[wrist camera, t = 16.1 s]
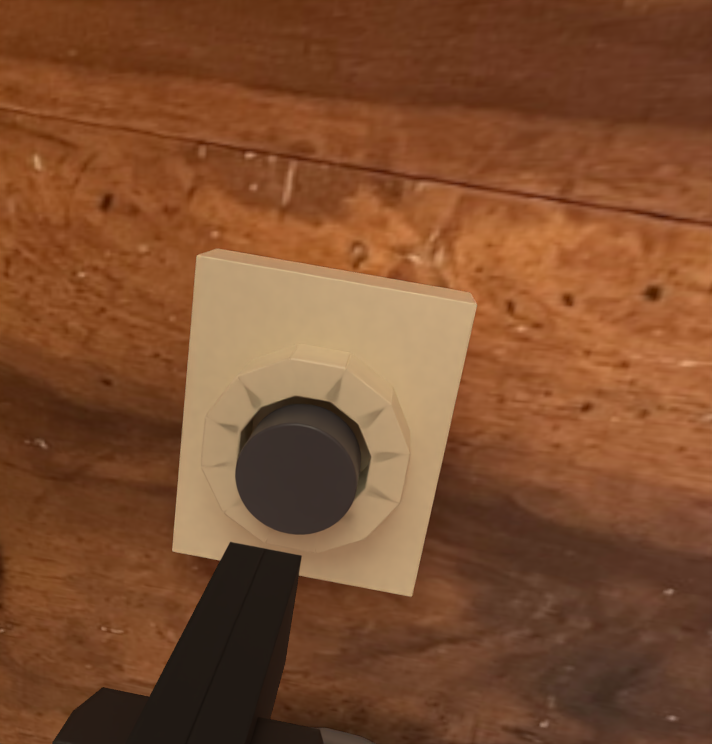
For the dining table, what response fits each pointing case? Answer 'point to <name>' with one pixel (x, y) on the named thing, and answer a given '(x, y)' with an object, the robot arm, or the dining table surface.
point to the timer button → (299, 469)
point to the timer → (325, 389)
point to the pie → (341, 737)
